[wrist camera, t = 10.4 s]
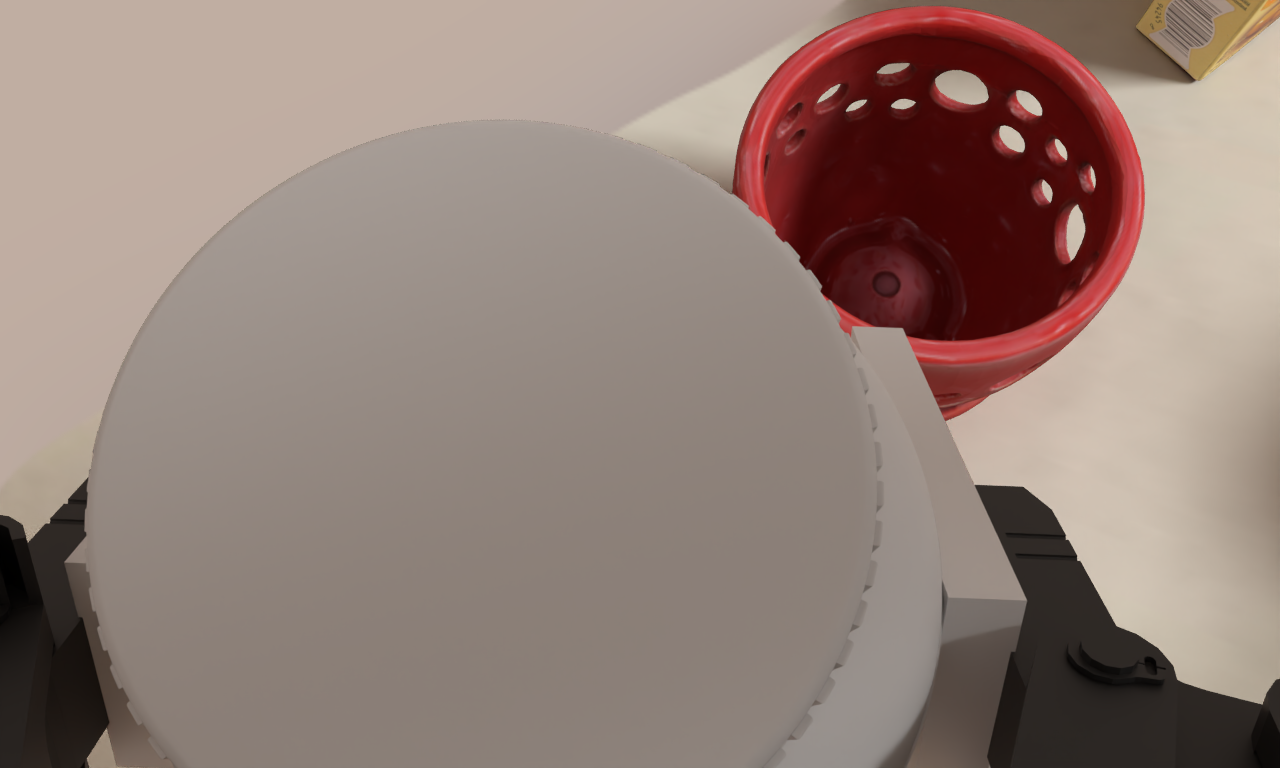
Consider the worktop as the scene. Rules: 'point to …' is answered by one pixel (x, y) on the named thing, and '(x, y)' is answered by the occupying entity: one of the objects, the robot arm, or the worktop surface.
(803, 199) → the plant pot
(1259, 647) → the worktop surface
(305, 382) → the pill bottle
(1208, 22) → the candy box
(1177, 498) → the worktop surface
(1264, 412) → the worktop surface
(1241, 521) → the worktop surface
